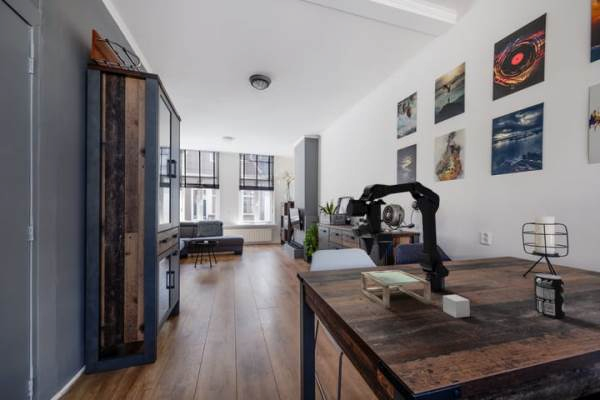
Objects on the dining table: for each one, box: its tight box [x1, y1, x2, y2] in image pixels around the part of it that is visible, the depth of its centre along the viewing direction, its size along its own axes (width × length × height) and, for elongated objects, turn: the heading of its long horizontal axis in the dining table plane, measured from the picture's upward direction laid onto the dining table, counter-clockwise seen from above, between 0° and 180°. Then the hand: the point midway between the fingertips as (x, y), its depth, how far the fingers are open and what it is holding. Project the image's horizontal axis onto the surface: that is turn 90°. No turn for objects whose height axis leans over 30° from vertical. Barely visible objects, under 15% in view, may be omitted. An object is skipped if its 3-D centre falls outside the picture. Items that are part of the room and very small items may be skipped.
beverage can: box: [533, 273, 566, 319], centre depth 77 cm, size 7×7×12 cm
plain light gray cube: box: [442, 294, 471, 319], centre depth 77 cm, size 5×5×5 cm
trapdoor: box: [369, 272, 421, 286], centre depth 92 cm, size 13×13×1 cm
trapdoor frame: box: [360, 269, 432, 309], centre depth 91 cm, size 18×18×8 cm
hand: (374, 257), depth 94 cm, fingers open, 9 cm apart
